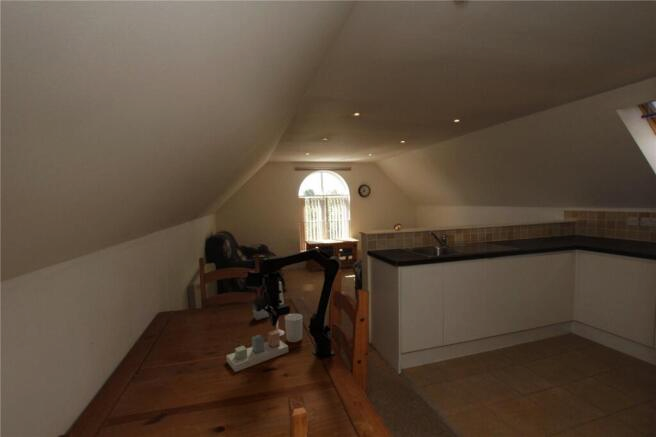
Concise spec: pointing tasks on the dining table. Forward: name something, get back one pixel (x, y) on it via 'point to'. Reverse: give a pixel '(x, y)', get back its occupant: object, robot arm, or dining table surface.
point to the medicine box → (260, 314)
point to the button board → (256, 356)
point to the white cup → (293, 327)
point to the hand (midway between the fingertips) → (273, 325)
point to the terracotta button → (273, 338)
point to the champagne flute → (280, 304)
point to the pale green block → (240, 353)
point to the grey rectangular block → (257, 343)
